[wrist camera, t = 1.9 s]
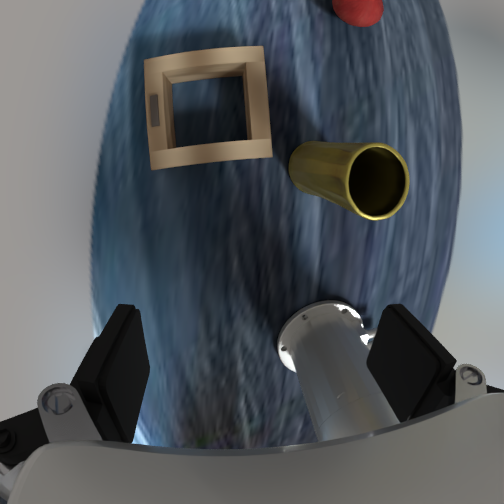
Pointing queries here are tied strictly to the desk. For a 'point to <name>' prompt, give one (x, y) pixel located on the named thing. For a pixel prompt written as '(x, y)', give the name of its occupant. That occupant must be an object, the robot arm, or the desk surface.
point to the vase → (352, 176)
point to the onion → (359, 11)
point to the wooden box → (197, 68)
